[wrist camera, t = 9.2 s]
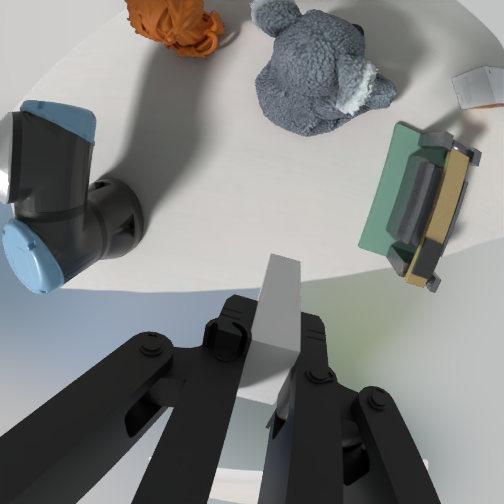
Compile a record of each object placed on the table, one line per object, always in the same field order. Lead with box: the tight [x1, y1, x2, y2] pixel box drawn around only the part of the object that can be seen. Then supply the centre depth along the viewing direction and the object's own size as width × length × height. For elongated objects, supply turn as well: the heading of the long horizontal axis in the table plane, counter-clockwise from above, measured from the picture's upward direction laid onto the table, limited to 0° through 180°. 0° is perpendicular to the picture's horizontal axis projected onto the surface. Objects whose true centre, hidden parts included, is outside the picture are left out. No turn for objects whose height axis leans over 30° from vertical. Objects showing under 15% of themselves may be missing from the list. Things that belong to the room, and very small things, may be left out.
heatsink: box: [385, 132, 482, 293], centre depth 33 cm, size 20×8×10 cm, turn 167°
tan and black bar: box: [404, 140, 472, 288], centre depth 29 cm, size 20×3×2 cm, turn 167°
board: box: [358, 124, 468, 256], centre depth 37 cm, size 20×14×1 cm
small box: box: [452, 66, 504, 110], centre depth 24 cm, size 8×6×10 cm
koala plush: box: [249, 0, 397, 137], centre depth 26 cm, size 17×18×20 cm
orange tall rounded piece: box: [125, 0, 225, 58], centre depth 26 cm, size 11×11×18 cm
